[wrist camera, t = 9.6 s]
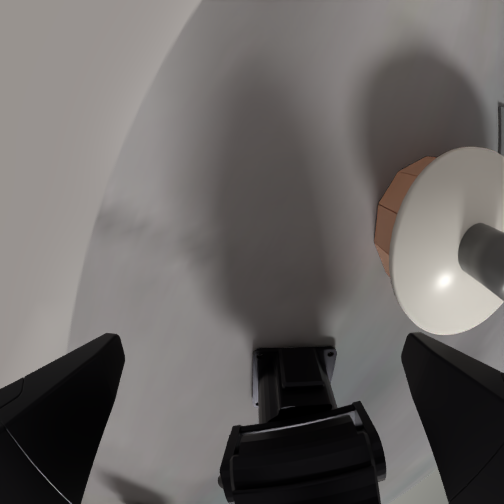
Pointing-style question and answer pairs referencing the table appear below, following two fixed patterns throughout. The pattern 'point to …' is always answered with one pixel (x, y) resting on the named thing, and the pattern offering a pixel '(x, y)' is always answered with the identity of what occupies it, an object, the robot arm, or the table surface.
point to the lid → (451, 242)
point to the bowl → (394, 206)
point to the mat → (501, 130)
